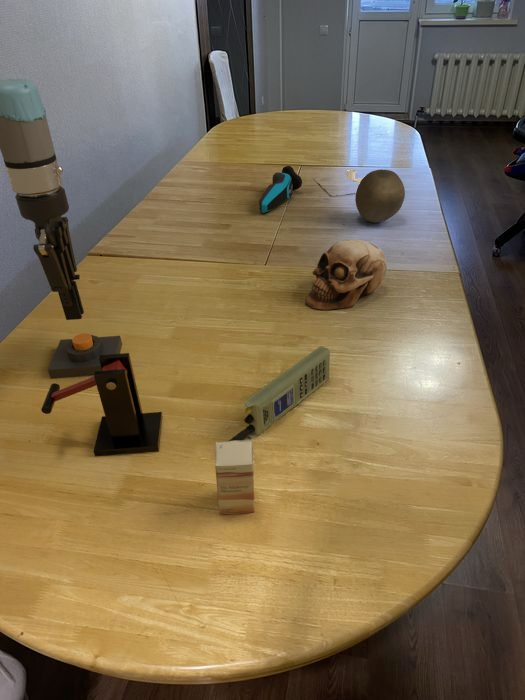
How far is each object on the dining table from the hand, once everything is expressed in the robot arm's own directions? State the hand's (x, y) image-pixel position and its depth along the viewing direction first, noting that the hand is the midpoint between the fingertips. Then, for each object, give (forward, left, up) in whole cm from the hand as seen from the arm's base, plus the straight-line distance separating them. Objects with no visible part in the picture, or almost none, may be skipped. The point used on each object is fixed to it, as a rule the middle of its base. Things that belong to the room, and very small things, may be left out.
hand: (75, 315), depth 96 cm
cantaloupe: (+74, +61, -11) cm, 96 cm away
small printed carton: (+28, -37, -11) cm, 48 cm away
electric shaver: (+46, +83, -11) cm, 95 cm away
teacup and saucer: (+73, +96, -11) cm, 121 cm away
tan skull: (+55, +19, -11) cm, 59 cm away
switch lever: (+7, -22, 0) cm, 23 cm away
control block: (0, 0, -10) cm, 10 cm away
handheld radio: (+36, -19, -11) cm, 42 cm away
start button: (0, 0, -7) cm, 7 cm away
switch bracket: (+11, -22, -10) cm, 27 cm away
